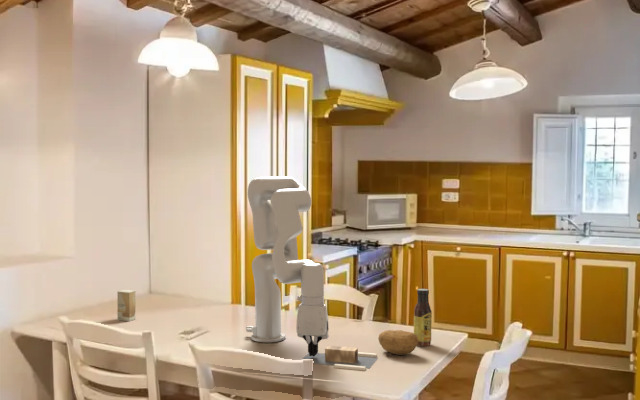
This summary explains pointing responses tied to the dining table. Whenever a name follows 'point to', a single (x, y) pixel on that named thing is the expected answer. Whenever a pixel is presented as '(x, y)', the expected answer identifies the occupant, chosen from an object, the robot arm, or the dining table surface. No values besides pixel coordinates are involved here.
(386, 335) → the potato
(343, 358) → the oak block
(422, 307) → the sauce bottle
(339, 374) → the dining table surface
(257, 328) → the robot arm
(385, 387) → the dining table surface
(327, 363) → the plate
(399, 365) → the dining table surface
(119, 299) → the skincare box
